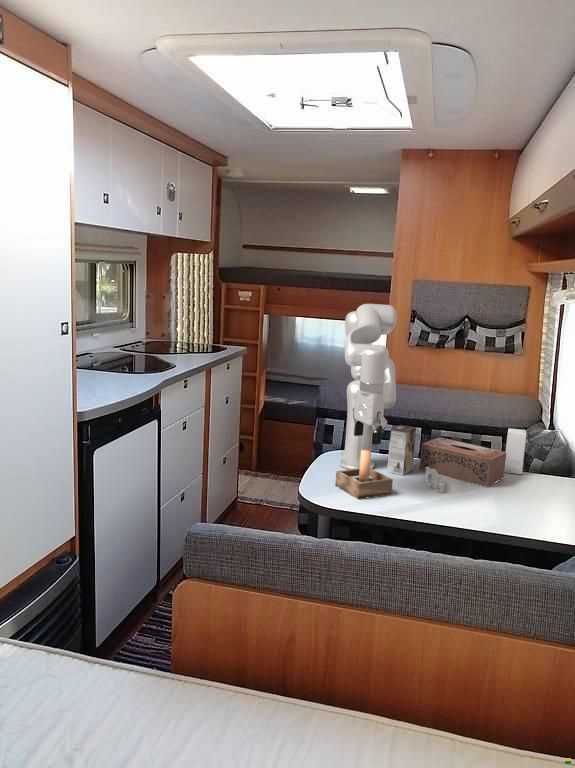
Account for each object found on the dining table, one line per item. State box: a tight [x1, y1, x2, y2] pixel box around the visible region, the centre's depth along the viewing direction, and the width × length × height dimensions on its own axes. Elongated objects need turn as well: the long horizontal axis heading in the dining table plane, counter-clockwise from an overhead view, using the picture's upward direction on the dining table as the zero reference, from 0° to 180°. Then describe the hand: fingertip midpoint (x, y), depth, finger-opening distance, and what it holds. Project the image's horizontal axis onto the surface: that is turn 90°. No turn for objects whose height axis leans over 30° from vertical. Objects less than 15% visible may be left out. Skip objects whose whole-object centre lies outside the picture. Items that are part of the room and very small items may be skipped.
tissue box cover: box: [419, 436, 507, 488], centre depth 221 cm, size 26×14×10 cm, turn 50°
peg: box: [359, 450, 372, 482], centre depth 197 cm, size 3×3×12 cm
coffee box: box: [387, 424, 417, 476], centre depth 220 cm, size 9×6×16 cm
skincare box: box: [504, 428, 527, 475], centre depth 228 cm, size 8×7×16 cm
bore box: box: [334, 468, 394, 500], centre depth 198 cm, size 13×13×5 cm
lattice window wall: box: [424, 467, 445, 494], centre depth 205 cm, size 12×2×6 cm, turn 13°
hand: (367, 439), depth 196 cm, fingers open, 9 cm apart
